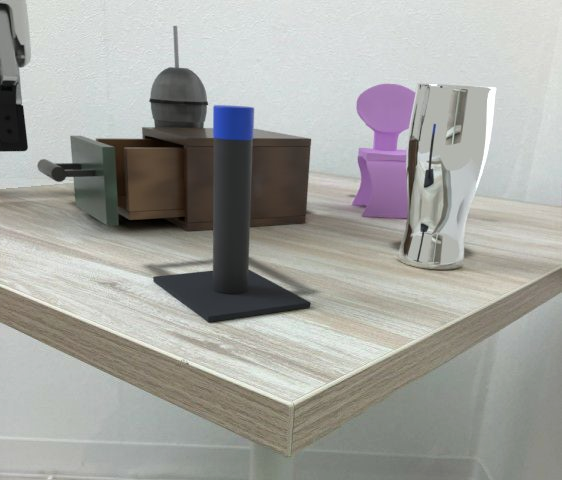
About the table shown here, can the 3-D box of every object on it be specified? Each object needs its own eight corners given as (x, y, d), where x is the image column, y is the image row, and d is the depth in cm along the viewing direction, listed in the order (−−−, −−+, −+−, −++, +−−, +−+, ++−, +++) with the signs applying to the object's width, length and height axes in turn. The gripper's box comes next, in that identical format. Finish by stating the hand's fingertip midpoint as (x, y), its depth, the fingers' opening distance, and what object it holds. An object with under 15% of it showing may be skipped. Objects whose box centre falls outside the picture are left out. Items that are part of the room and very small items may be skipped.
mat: (153, 281, 50) (153, 276, 50) (244, 271, 54) (244, 267, 53) (208, 322, 42) (208, 316, 42) (310, 307, 46) (310, 302, 46)
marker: (205, 285, 48) (206, 104, 43) (238, 282, 49) (242, 105, 44) (222, 296, 46) (224, 107, 41) (255, 292, 47) (261, 108, 42)
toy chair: (354, 216, 79) (367, 82, 72) (344, 204, 87) (355, 81, 80) (421, 219, 79) (439, 86, 73) (404, 206, 87) (420, 85, 81)
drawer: (62, 228, 61) (55, 147, 58) (36, 207, 69) (28, 135, 66) (230, 218, 69) (232, 146, 66) (188, 200, 78) (187, 136, 75)
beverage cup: (159, 202, 80) (155, 21, 72) (146, 193, 86) (140, 24, 78) (215, 201, 83) (216, 26, 75) (198, 192, 89) (198, 29, 81)
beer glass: (467, 256, 63) (496, 87, 56) (469, 274, 56) (502, 87, 50) (395, 249, 64) (415, 83, 58) (389, 266, 58) (412, 82, 51)
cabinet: (187, 231, 67) (186, 137, 63) (144, 209, 76) (141, 127, 72) (305, 222, 74) (311, 138, 70) (252, 203, 83) (255, 128, 80)
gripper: (-80, -76, 57) (-45, 143, 65) (-63, -112, 45) (-23, 160, 53) (10, -63, 61) (33, 143, 68) (47, -94, 49) (69, 158, 57)
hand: (8, 150), depth 61 cm, fingers closed
